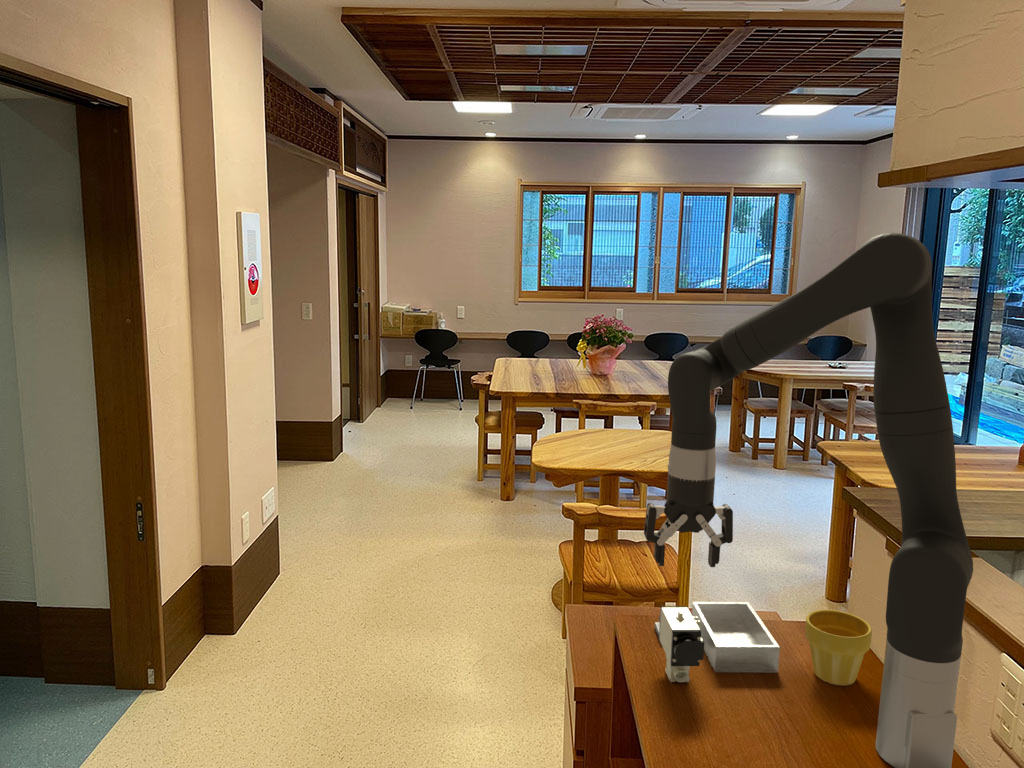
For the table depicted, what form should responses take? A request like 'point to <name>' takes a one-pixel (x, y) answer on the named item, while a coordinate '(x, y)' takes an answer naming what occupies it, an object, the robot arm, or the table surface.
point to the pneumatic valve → (680, 641)
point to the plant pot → (837, 644)
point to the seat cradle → (736, 638)
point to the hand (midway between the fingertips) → (686, 564)
